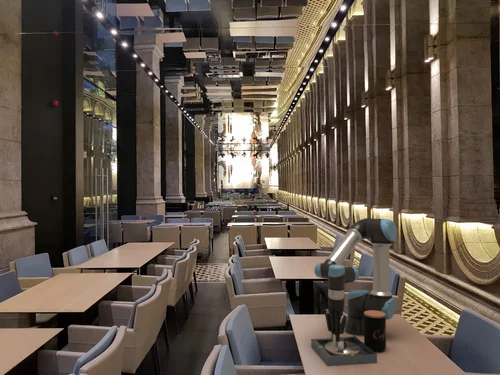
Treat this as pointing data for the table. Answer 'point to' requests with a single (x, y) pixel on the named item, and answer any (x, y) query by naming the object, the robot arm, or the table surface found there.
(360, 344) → the grey square tray
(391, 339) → the table surface
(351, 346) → the dial
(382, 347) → the coffee jar
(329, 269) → the robot arm
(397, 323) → the table surface
